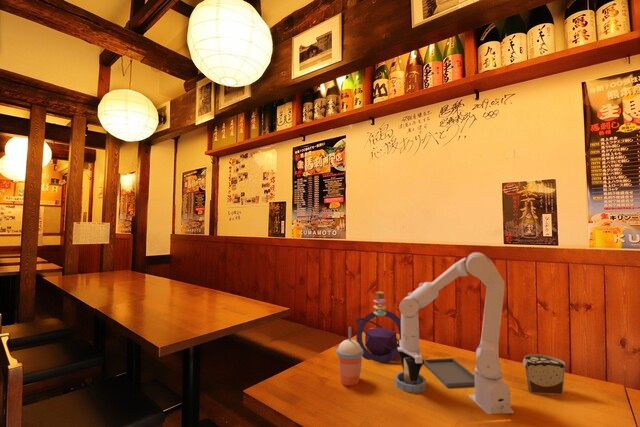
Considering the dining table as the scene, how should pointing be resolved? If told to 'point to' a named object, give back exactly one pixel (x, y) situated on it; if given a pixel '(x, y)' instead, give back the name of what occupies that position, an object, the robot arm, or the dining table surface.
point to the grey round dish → (407, 387)
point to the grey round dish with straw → (349, 361)
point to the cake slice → (544, 374)
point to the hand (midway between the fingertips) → (410, 376)
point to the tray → (450, 372)
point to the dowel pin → (407, 374)
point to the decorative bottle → (379, 334)
